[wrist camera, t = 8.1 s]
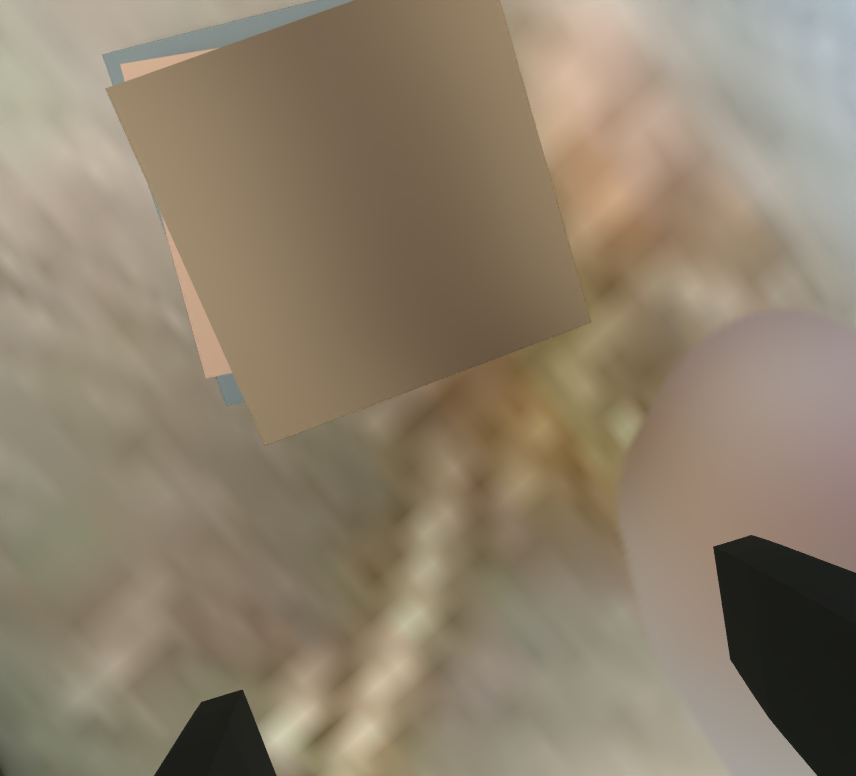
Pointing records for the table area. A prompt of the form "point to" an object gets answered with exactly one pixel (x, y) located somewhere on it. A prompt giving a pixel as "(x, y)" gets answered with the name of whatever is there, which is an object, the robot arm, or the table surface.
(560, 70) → the table surface
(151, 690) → the table surface
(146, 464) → the table surface
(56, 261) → the table surface
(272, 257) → the walnut cube
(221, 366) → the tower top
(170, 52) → the tower base
